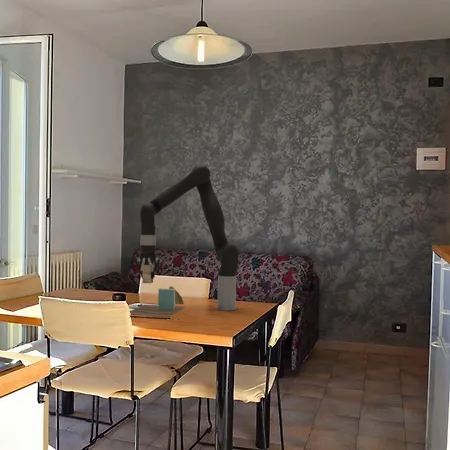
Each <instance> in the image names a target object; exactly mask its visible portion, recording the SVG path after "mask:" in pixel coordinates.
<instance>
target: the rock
mask: <svg viewBox="0 0 450 450" xmlns="http://www.w3.org/2000/svg"><path fill="white" fill-rule="evenodd" d="M168 289H175V288H174V286H169V287H168ZM184 304H185V302H184V300H183V297H182V296H181V294H180V293H179V291H177V290H176V289H175V305H184Z"/></svg>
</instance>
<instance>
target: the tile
mask: <svg viewBox="0 0 450 450" xmlns="http://www.w3.org/2000/svg"><path fill="white" fill-rule="evenodd" d="M175 290H176V288H174V289H169V288H162V287H161V288H158V291H157V292H158V297H157V301H158V303H157V305H158V309H163V310H175V306H176V304H175Z"/></svg>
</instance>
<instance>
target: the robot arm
mask: <svg viewBox="0 0 450 450" xmlns="http://www.w3.org/2000/svg"><path fill="white" fill-rule="evenodd" d="M195 188H196V190H197V192H198V194H199V199H200V205H201V208H202V212H203V215H204V218H205V221H206V223H207V227H208V230H209V233H210V235H211V238H212V242H213V246H214V251H215V255H216V257H217V259H218V260H219V261H220V262H221V265H220V268H219V269H218V270H217V310H218V311H222V312H224V311H225V312H227V311H229V312H230V311H235V310H236V309H237V307H236V304H237V303H236V302H237V298H236V297H237V296H236V295H237V292H236V291H237V272H238V271H239V270H238V269H239V257H240V256H239V250H238V247H236V245H235V244H231V243H229V241H228V239H227V238H228V237H227V235H226V232H225V229H226V228H225V216H224V212H223V209H222V206H221V204H220V203H221V202H220V201H219V199H218V197H217V195H216V193H215V191H214V189H213V185H212V181H211V171H210V169H209V167H208V166H206V165H205V164H196V165H195V166H193V167H192V169H191V171H190V173H188V175H186V176H185V177H184V178H182V179H181V180H179V181H178V182H176V183H174V184H173V185H171V186H169V187H168V188H166V189H165V190H164V191H162V192H161V193H159V194H158V195H156V197H155V198H154V199H152V200H151V201H148V202H147V203H144V204H143V205H142V206H141V208H140V212H139V213H140V214H139V215H140V225H141V226H140V242H139V243H140V249H139V253H140V255H139V257H135V258H134V259H133V260H134V263H135V266H136V269H137V270H138V271H140V278H141V279H142V280H143V265H147V264H148V265H151V271H152V272H151V279H153V280H154V278H155V277H156V276H155V275H156V273H155V272H156V271H158V270H159V269H160V266H161V263H162V258H159V257H157V255H156V254H157V253H156V252H157V247H156V246H157V245H156V243H157V240H156V238H157V237H156V224H155V216H156V215H157V214H158V213H159V212H161V211H162V210H163V209H165V208H166V207H168V206H169V205H171V204H173V203H174V202H176V201H177V200H178V199H179V198H181V197H183V195H185V194H186V193H187V192H189V191H191V190H193V189H195ZM155 261H156V264H155ZM140 262H141V263H140ZM152 264H153V265H152Z"/></svg>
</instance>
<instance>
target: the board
mask: <svg viewBox="0 0 450 450" xmlns="http://www.w3.org/2000/svg"><path fill="white" fill-rule="evenodd" d="M185 308H186V306H178V305H175V310H163V309H158V304H143V305H141V306H138V307H136V308H134V309H132V310H130V313H131V315H130V316H131V317H130V318H132V319H133V318H137V319H153V320H167V319H169V320H171V318H172V317H171V316H173V315H175V314H176V313H178V312H180V311H181V310H183V309H185ZM170 317H171V318H170Z"/></svg>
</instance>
